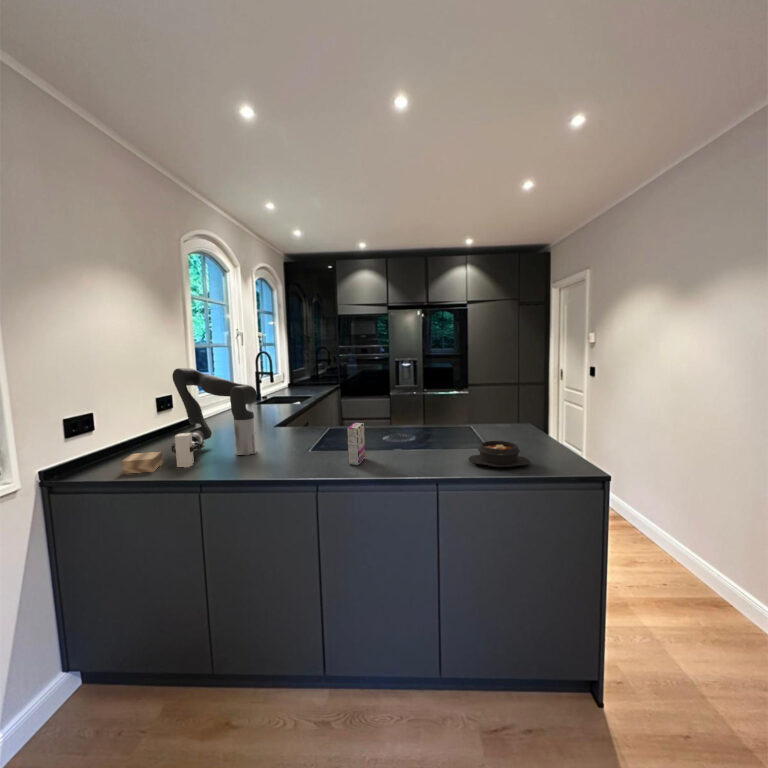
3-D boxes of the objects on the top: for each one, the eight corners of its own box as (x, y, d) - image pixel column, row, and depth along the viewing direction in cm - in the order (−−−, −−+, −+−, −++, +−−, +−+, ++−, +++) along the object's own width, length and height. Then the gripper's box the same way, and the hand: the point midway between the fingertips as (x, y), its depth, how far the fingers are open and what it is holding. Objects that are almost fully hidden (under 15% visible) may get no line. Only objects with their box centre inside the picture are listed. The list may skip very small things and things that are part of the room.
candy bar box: (355, 458, 183) (353, 422, 181) (365, 458, 182) (364, 422, 180) (347, 465, 172) (346, 428, 170) (359, 466, 171) (358, 428, 169)
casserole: (469, 470, 162) (469, 450, 161) (467, 457, 180) (467, 439, 179) (534, 472, 158) (534, 451, 157) (525, 458, 176) (525, 440, 175)
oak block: (162, 464, 181) (161, 451, 180) (153, 472, 169) (152, 458, 169) (133, 466, 178) (132, 453, 178) (122, 475, 167) (121, 461, 166)
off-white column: (193, 463, 181) (191, 432, 179) (190, 466, 175) (188, 435, 174) (180, 464, 180) (178, 433, 178) (177, 468, 174) (174, 436, 173)
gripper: (175, 434, 189) (164, 443, 172) (208, 432, 192) (200, 440, 175) (176, 450, 189) (165, 460, 173) (209, 448, 193) (201, 457, 176)
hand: (182, 450), depth 174 cm, fingers closed on off-white column, 5 cm apart
